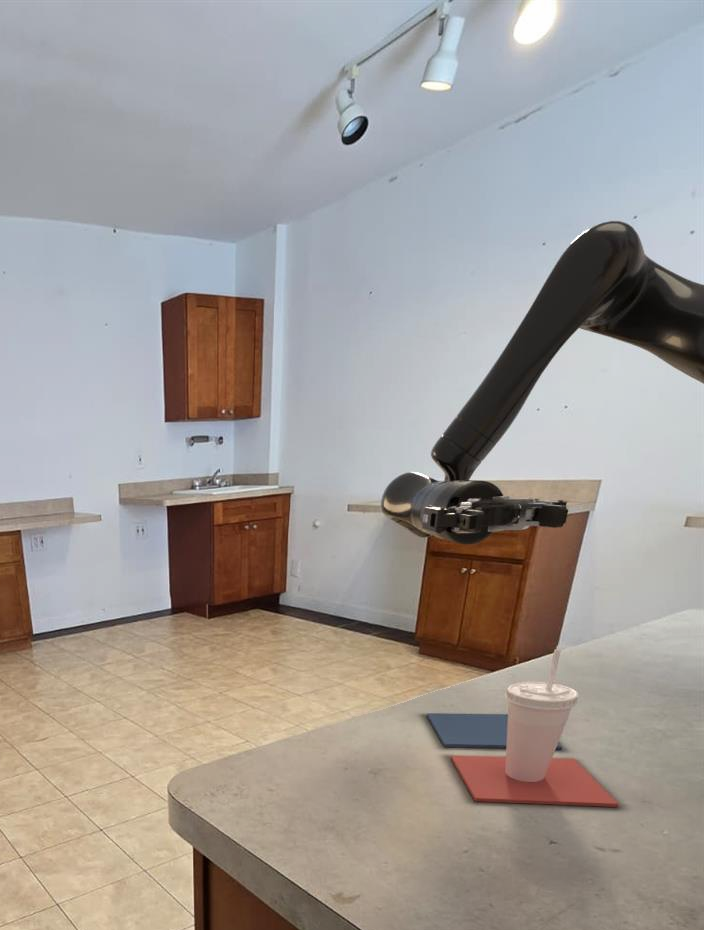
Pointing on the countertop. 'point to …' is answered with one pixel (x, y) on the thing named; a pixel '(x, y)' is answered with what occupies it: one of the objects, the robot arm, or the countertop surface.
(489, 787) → the red mat
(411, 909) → the countertop surface
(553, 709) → the smoothie
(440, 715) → the blue mat
